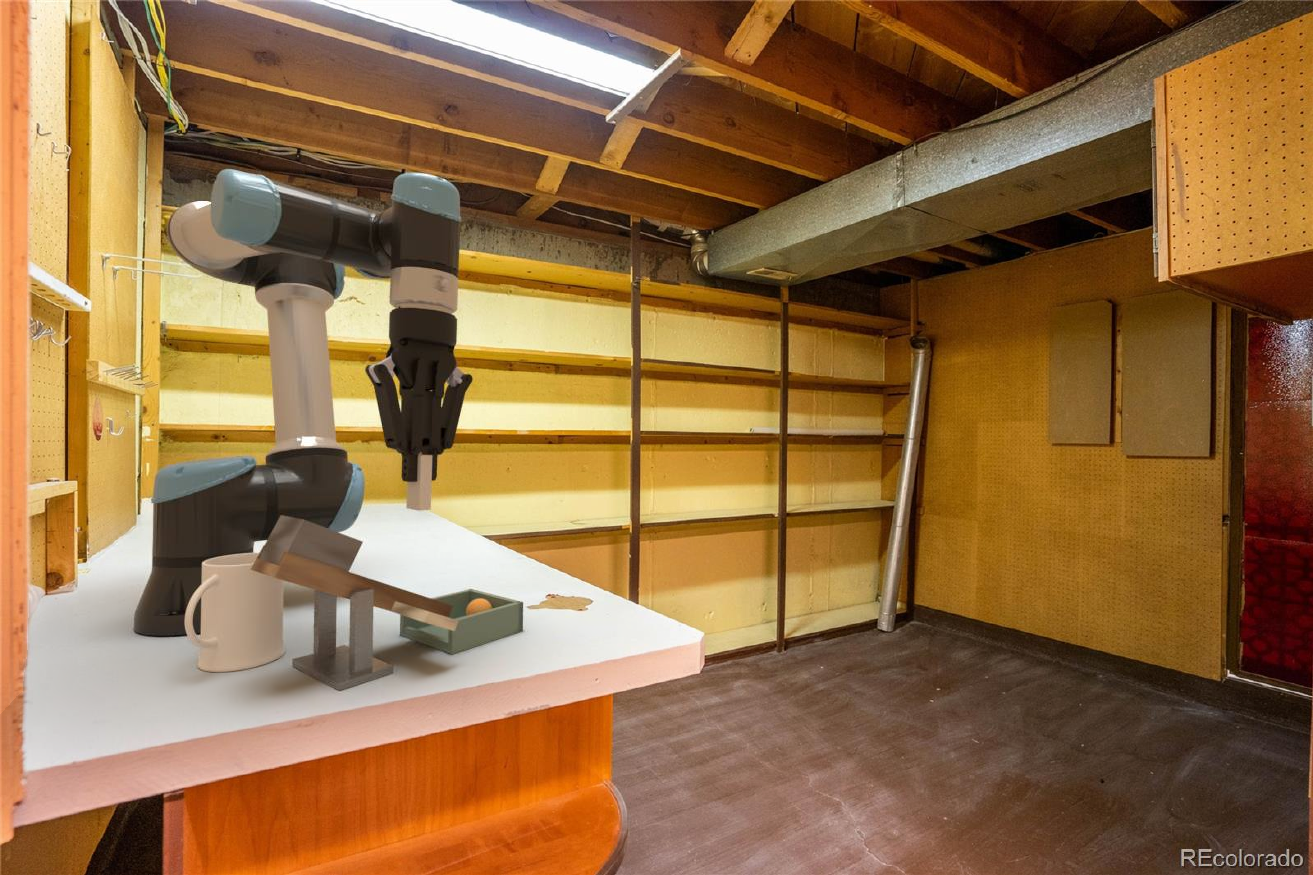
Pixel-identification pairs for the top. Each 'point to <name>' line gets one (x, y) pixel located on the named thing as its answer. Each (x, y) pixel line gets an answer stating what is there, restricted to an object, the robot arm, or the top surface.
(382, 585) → the lever
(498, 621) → the tray
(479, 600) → the ball
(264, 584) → the mug
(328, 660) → the stand
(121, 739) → the top surface
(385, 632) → the top surface
